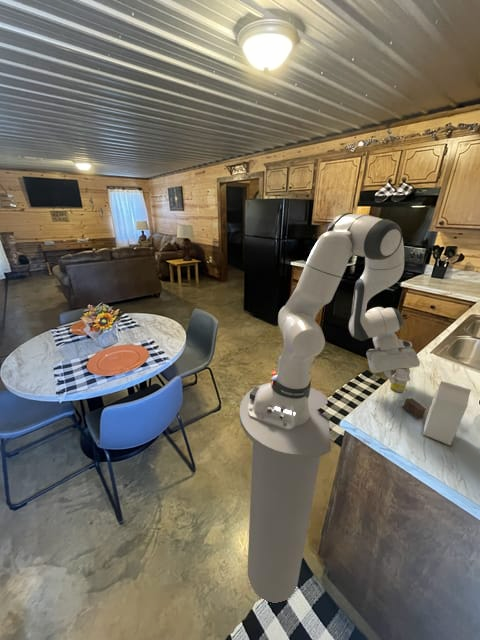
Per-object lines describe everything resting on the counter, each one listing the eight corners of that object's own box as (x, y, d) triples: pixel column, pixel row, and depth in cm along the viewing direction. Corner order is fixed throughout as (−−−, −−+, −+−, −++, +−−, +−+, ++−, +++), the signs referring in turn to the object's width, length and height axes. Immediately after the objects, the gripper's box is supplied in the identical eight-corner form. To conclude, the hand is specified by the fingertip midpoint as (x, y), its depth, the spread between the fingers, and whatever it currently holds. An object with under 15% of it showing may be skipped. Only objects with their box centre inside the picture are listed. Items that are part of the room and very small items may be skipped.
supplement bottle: (393, 385, 104) (398, 367, 101) (406, 391, 100) (411, 372, 97) (387, 389, 102) (392, 370, 98) (400, 395, 98) (405, 376, 95)
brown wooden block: (423, 417, 92) (426, 408, 91) (416, 419, 92) (419, 410, 90) (409, 406, 98) (412, 397, 96) (402, 407, 97) (405, 398, 95)
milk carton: (450, 446, 81) (471, 396, 74) (423, 434, 85) (440, 386, 78) (450, 432, 86) (470, 384, 79) (424, 422, 90) (441, 375, 83)
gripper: (369, 347, 99) (382, 383, 94) (414, 341, 103) (429, 376, 98) (360, 351, 105) (371, 386, 99) (403, 346, 109) (416, 379, 104)
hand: (400, 381), depth 99 cm, fingers closed on supplement bottle, 5 cm apart
